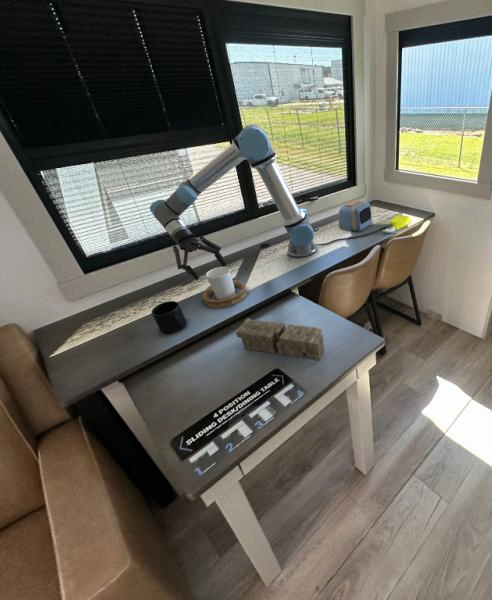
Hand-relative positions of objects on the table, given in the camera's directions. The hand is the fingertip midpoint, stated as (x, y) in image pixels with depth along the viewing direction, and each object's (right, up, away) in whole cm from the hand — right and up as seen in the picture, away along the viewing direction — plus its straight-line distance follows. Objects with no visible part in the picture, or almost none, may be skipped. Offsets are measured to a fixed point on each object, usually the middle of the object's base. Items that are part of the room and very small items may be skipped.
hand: (211, 271), depth 136 cm
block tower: (+37, -29, -27) cm, 54 cm away
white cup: (+5, -10, +4) cm, 12 cm away
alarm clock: (+63, +34, +64) cm, 96 cm away
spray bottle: (+88, +33, +59) cm, 111 cm away
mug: (-8, -23, -14) cm, 28 cm away
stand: (+5, -10, +4) cm, 12 cm away
